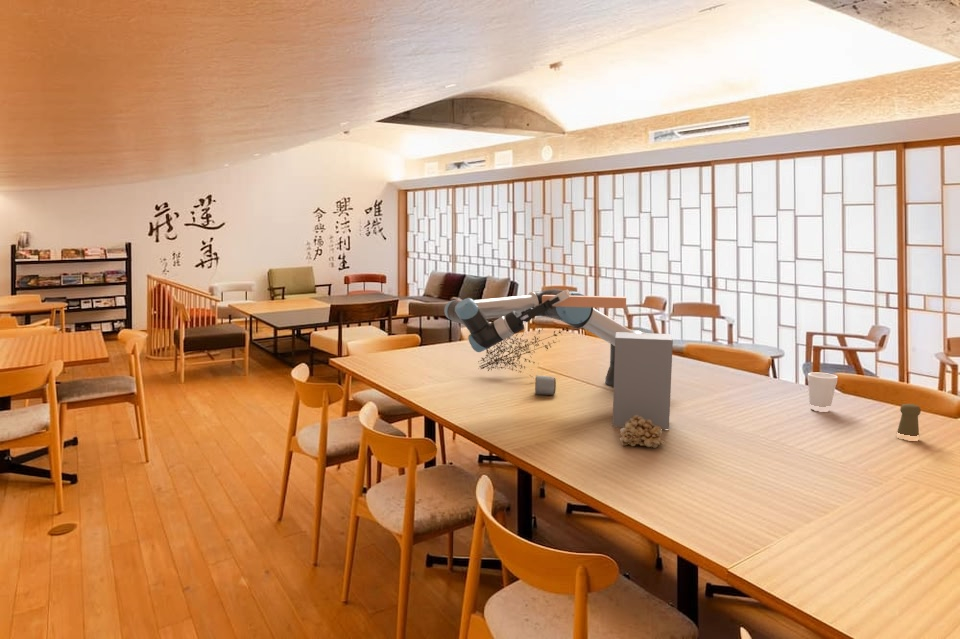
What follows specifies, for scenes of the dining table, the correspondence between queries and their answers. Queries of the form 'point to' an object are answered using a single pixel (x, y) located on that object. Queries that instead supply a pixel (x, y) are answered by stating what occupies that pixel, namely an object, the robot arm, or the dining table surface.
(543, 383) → the ceramic mug
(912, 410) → the olive pepper mill
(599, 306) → the rail
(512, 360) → the dried plant
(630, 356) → the stand
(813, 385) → the foam cup
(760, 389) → the dining table surface
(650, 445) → the mineral formation
